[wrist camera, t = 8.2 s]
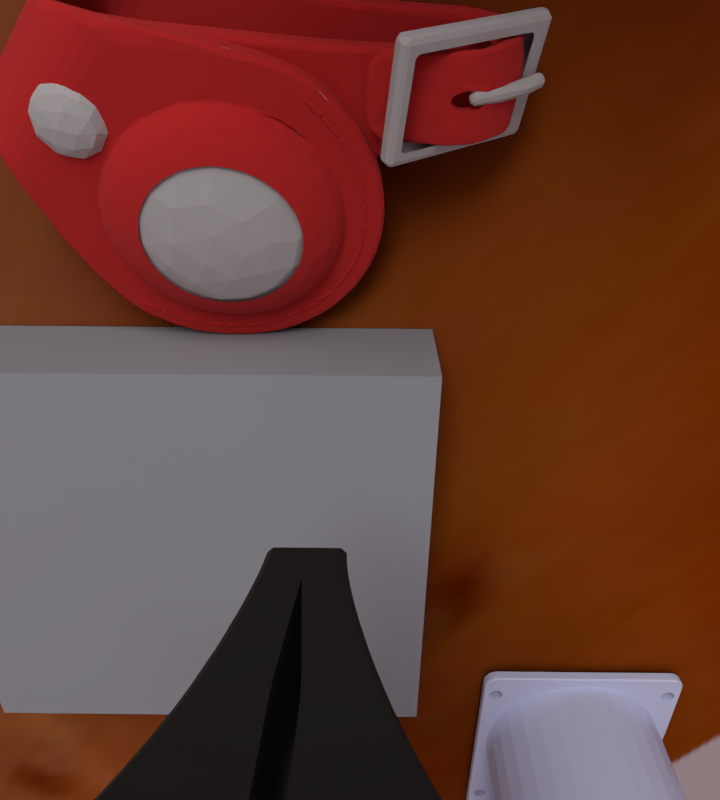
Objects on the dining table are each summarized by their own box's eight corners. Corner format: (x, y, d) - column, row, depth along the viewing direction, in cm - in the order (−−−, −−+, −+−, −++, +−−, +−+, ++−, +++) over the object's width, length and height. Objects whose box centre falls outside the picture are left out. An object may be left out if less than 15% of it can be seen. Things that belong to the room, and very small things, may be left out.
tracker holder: (271, 407, 20) (-92, 230, 15) (278, 309, 23) (-24, 133, 18) (619, 105, 13) (170, -401, 8) (568, 19, 16) (212, -395, 11)
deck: (411, 649, 27) (416, 716, 24) (39, 645, 27) (4, 712, 24) (432, 329, 20) (442, 376, 17) (-72, 325, 20) (-137, 371, 17)
